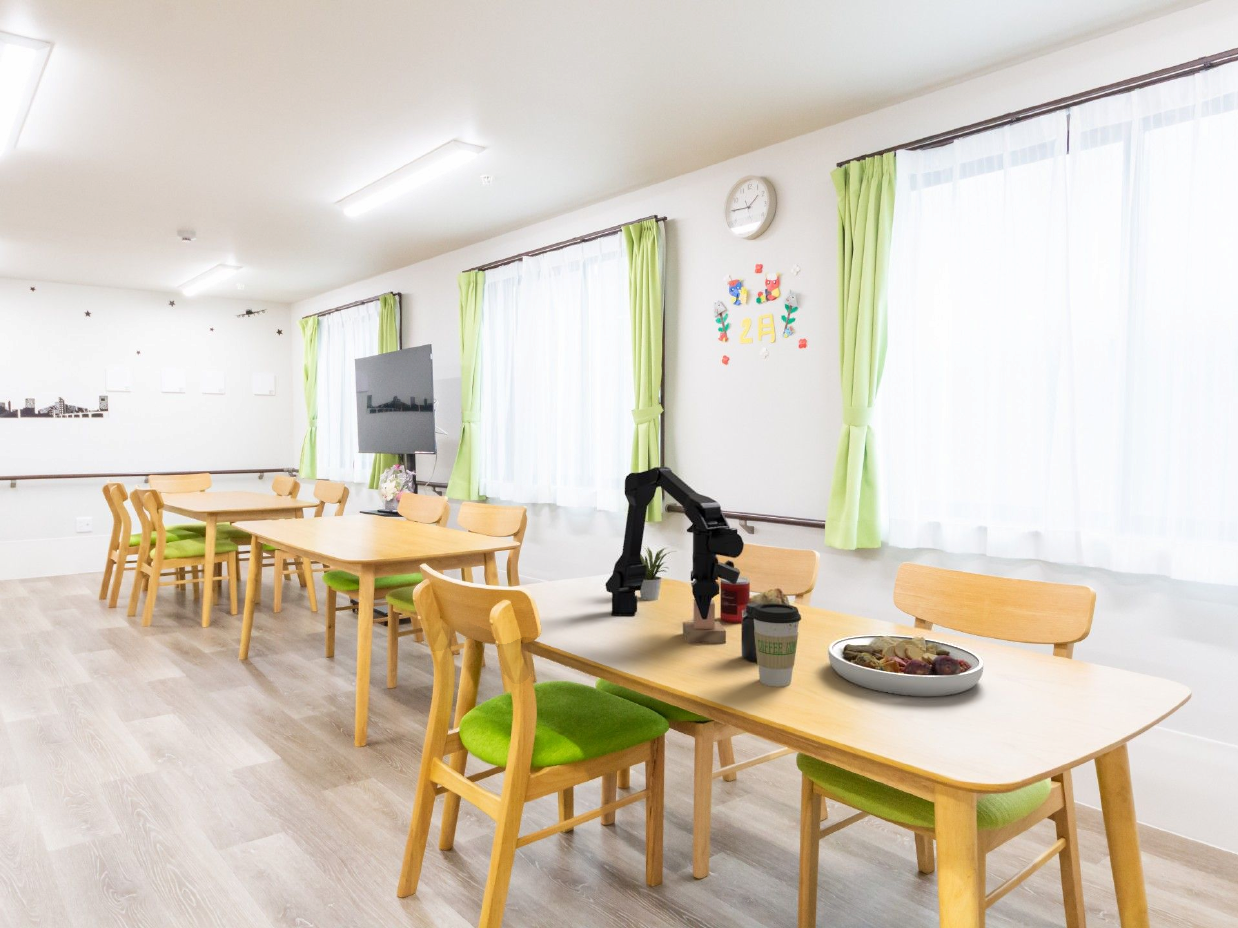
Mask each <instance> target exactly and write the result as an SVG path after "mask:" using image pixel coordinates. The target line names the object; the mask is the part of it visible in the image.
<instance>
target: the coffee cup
mask: <svg viewBox="0 0 1238 928" xmlns="http://www.w3.org/2000/svg"><path fill="white" fill-rule="evenodd" d="M751 617H752V618H753V619H754V627H755V630H754V635H755V644H756V654H757V662H756V663H757V666H758V674H759V676H758V677H759V682H760V683H761V684H762V685H765V686H769V687H774V688H775V687H776V688H778V687H779V688H781V687H787V686H790V685H791V684H792V678H793V669H794V666H795V663H796V662H795V661H796V655H797V654H796V653H797V647H798V646H797V645H798V637H799V631H798V630H799V624H800V622H801V620H802V615H801V614H800V612H799V608H798V607H796V606H795V605H791V604H790V605H787V604H778V603H766V604H759V605H756V606H755V609H754V611H753V612H752V616H751Z"/></svg>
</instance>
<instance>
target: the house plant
mask: <svg viewBox="0 0 1238 928" xmlns="http://www.w3.org/2000/svg"><path fill="white" fill-rule="evenodd" d="M646 546H647V547H646V548H647V549H645V551H646V554H647V555H645V556H643V555H642V554H641V555H640V558H641V560H642V562H643V564H645V565H646V567H647V568H646V572H645V577H646V578H645V579H644V581H643V583H642V587H641V590H640V591H639V593H640V599H641V600H644V601H657V600H659V596H660V590H661V584H662V577H660V576H658V575H657V574H658V573H661V572H666V573H667V571H666V570H664V568H666V569H668V570H669V567H668V566H663V565H664V564H665V563H666V561H664V562H662V560H663V559H664V557H666V556H667V555H668V554H670V553H672V552H673V553H675V552H677V551H674V550H673V551H669V552H667V553H664V552H663V551H664V550H666V549H668V548H669V547H664V548H661V549H660V550H658V551H657V552H656V553H655V557H653V551H651V549H650V548H649V546H648V545H646ZM663 553H664V554H663ZM647 556H648V557H647ZM653 560H654V561H653ZM662 566H663V567H662ZM661 569H662V570H661Z"/></svg>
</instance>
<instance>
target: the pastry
mask: <svg viewBox="0 0 1238 928" xmlns="http://www.w3.org/2000/svg"><path fill="white" fill-rule="evenodd" d="M749 603H763V604H766V603H778V604H787V605H791V604H790V601H789V598H788V595H786V594H785V593H784V592H783V591H782V589H781V588H778V587H777V588H773V589H769V590H765V591H763V592H760V593H758V594H755V595H752V596H750V601H749Z"/></svg>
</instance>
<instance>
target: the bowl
mask: <svg viewBox="0 0 1238 928" xmlns="http://www.w3.org/2000/svg"><path fill="white" fill-rule="evenodd" d="M827 652H828V653H827V656H828V659H829V662H830V665H831V667H832V668H833V669H834V671H835V672H836V673H837V674H838V675H839V676H841V677H842V678H844V679H845V680H847V681H849V682H851V683H852V684H855V685H857V686H860V687H863V688H866V689H869V690H873V691H877V690H878V691H877V692H881V691H882V692H881V693H886V692H888V693H887V694H892V693H894V694H893V695H899V694H902V695H901V696H908V695H911V696H910V697H942V696H943V697H944V696H949V695H951V694H952V695H956V694H959V693H963V692H965V691H968V690H970V689H971V688H973V687H974V686H975V685H977V683H978V682H979V681H980V679H981V678H982V676H983V672H984V661H983V659H982V658H981V657H980V656H979V655H978V654H976V653H975V652H974V651H973V652H972V651H971V650H968V649H966V648H964V647H961V646H958V645H954V644H951V643H947V642H943V641H939V640H935V639H929V638H924V637H923V636H921V637H919V636H908V635H907V636H905V635H895V634H894V635H893V634H871V635H870V634H866V635H865V634H863V635H855V636H849V637H843V638H840V639H837V640H835V641H833V642H831V643H830V644H829V645H828V651H827Z"/></svg>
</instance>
